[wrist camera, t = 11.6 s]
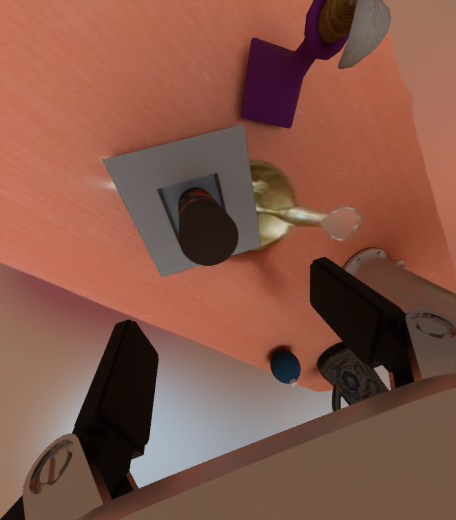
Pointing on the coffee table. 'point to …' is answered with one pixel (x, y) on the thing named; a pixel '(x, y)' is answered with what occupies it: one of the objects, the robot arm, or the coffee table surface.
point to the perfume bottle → (310, 55)
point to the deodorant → (205, 228)
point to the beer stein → (348, 376)
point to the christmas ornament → (285, 367)
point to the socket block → (178, 181)
